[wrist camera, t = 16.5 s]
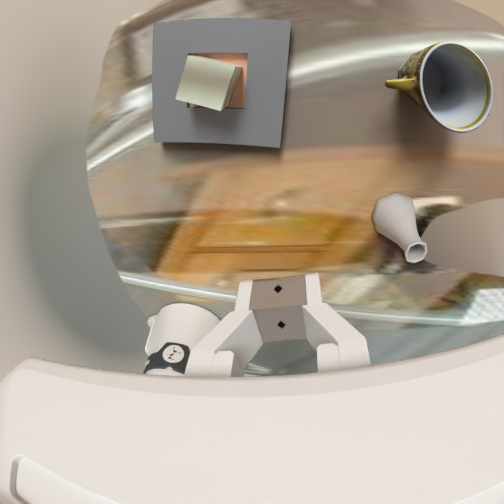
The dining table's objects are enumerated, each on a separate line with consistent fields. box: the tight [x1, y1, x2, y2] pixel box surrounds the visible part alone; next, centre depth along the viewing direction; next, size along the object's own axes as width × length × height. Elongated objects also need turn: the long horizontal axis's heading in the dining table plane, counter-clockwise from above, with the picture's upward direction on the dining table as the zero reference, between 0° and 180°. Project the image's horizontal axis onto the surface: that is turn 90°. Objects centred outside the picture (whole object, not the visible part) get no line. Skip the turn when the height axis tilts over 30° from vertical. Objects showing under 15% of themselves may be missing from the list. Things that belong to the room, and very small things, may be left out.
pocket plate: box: [152, 18, 291, 148], centre depth 31 cm, size 16×16×2 cm
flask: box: [372, 192, 427, 263], centre depth 36 cm, size 7×7×10 cm
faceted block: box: [176, 55, 242, 111], centre depth 28 cm, size 5×5×6 cm
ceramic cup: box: [385, 42, 493, 133], centre depth 24 cm, size 13×10×10 cm
